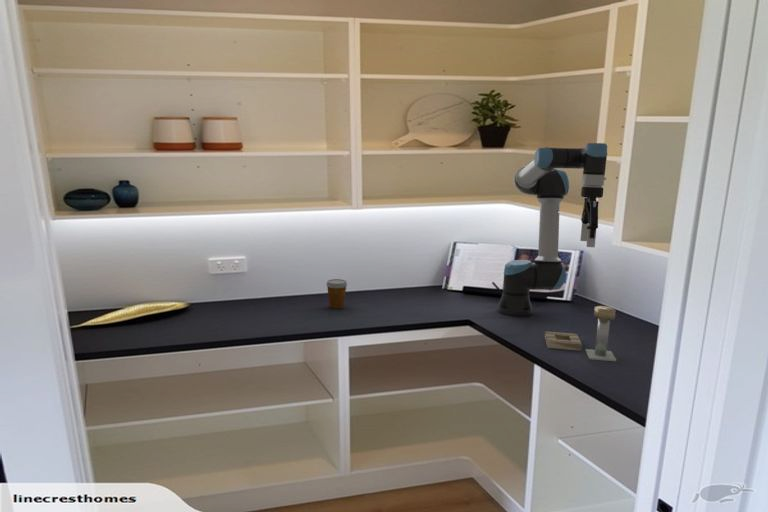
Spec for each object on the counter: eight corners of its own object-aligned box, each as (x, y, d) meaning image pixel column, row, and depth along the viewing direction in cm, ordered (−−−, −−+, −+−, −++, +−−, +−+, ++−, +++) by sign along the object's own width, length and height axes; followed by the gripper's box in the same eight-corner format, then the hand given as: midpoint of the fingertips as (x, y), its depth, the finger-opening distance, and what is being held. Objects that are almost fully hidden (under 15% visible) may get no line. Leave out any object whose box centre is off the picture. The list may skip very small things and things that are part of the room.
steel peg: (588, 350, 207) (592, 305, 203) (608, 351, 205) (613, 306, 202) (592, 356, 200) (596, 310, 197) (612, 358, 199) (617, 312, 195)
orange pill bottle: (340, 303, 263) (341, 278, 261) (350, 308, 255) (351, 282, 253) (322, 305, 258) (322, 280, 256) (332, 310, 250) (332, 284, 248)
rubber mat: (585, 350, 208) (585, 349, 208) (610, 352, 206) (611, 351, 206) (589, 359, 199) (589, 357, 199) (616, 361, 197) (616, 359, 197)
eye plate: (544, 337, 221) (545, 331, 221) (576, 340, 219) (576, 333, 219) (547, 347, 210) (548, 341, 209) (581, 350, 208) (581, 344, 207)
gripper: (610, 189, 191) (604, 250, 195) (597, 184, 215) (591, 239, 219) (587, 188, 192) (582, 249, 196) (576, 183, 216) (571, 238, 221)
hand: (587, 244), depth 208 cm, fingers open, 13 cm apart
